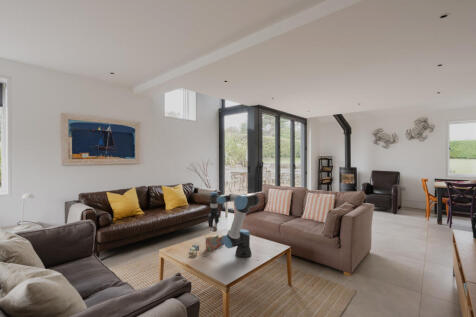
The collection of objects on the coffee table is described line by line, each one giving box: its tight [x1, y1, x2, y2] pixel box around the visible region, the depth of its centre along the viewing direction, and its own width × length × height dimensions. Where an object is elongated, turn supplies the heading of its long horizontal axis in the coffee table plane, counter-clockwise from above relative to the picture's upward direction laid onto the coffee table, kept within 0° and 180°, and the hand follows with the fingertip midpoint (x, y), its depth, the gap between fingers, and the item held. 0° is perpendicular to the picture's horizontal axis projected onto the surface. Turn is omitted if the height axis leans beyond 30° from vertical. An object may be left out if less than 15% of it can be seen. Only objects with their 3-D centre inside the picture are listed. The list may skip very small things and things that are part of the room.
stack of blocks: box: [205, 233, 225, 251], centre depth 237 cm, size 21×6×12 cm, turn 144°
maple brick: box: [189, 250, 198, 258], centre depth 216 cm, size 6×4×4 cm, turn 68°
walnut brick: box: [209, 225, 218, 233], centre depth 234 cm, size 6×4×4 cm, turn 47°
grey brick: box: [191, 243, 200, 251], centre depth 230 cm, size 6×4×4 cm, turn 56°
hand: (213, 230), depth 234 cm, fingers closed on walnut brick, 3 cm apart
